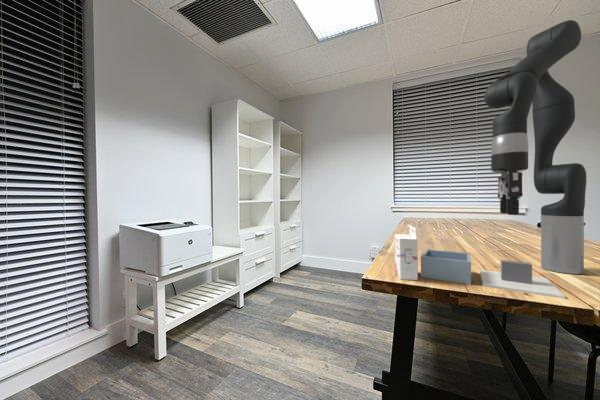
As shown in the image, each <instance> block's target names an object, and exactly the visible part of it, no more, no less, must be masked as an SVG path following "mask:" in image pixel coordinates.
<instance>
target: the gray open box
mask: <svg viewBox="0 0 600 400" xmlns="http://www.w3.org/2000/svg"><path fill="white" fill-rule="evenodd" d="M420 277H421V278H426V279H432V280H437V281H446V282H452V283H459V284H464V285H465V284H466V285H471V286H472V258H471V253H470V252H469V253H468V252H459V251H450V250H439V249H430V248H429V249H428V248H425V249H424V251H423V253H422V254H421V256H420Z"/></svg>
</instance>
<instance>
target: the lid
mask: <svg viewBox="0 0 600 400" xmlns="http://www.w3.org/2000/svg"><path fill="white" fill-rule="evenodd" d="M479 275H480V279H481V284H482V287H487V288H492V289H500V290H504V291H511V292H519V293H525V294H530V293H532V294H533V295H537V296H538V295H539V296H544V297H550V298H558V299H563V300H566V296H565V294H564V293H563V292H562V291H560V289H558V288H557V287H556V286H555V285H554V283H552V281H550V279H548V278H547V277H541V276H533V264H531V263H530V262H524V261H517V260H515V261H514V260H508V259H507V260H505V259H500V271H493V270H485V269H479ZM532 294H531V295H532Z"/></svg>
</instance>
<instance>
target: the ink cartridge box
mask: <svg viewBox="0 0 600 400" xmlns="http://www.w3.org/2000/svg"><path fill="white" fill-rule="evenodd" d="M417 234H418V233H417V228H416V227H414V226H412V225H411V224H409V234H399V233H398V234H394V270H395V272H396V274H397V277H398V278H399V280H404V281H405V280H406V281H407V280H408V281H418V279H419V276H418V275H419V272H418V271H419V270H418V269H419V268H418V266H419V265H418V264H419V263H418V256H419V255H418V235H417Z"/></svg>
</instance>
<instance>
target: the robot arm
mask: <svg viewBox="0 0 600 400" xmlns="http://www.w3.org/2000/svg"><path fill="white" fill-rule="evenodd" d="M527 41H528V42H527V44H526V56H525V57H523V58H522V59H521V60H520V61H519V62H517V64H516V65H515V66H514V67H513V68H512V69H511V70H510V71H508V72H507V73H505V74H503V75H502V76H500V77H498V78H497V79H496V80H494V81H493V82H492V83H490V85H489V86H488V87H487V88H486V90H485V92H484V96H483V97H484V98H483V99H484V103H485V104H486V106H487V107H488V108H490V109H494V110H495V109H502V108H505V107H508V106H510V107H509V108H508V110H506V111H504V112H503V113H500V114H498V115H496V116H495V117H494V118H493V121H492V134H491V135H492V136H491V137H492V138H491V139H492V140H491V147H490V152H491V156H490V161H491V162H490V166H491V167H490V170H491V172H493V173H501V175H500V176H499V177H497V199H498V200H499V213H501V214H507V215H513V216H518V215H519V214H520V200H521V197H523V195H524V194H523V171H526V170H528V169H529V139H528V117H529V113H530V110H531V106H532V111H531V112H532V123H533V124H532V126H533V134H534V137H533V138H534V164H533V184H534V187H535V190H536V192H537V193H539V194H543V195H557V194H558V195H561V194H562V195H563V194H564V195H563V197H562V198H561V199H560V200H558V201H556V202H554V203H551V204H550V203H549V204H546V205H542V206H541V208H540V267H541V268H542V269H544V270H546V271H547V270H548V271H551V272H554V273H555V272H557V273H563V274H570V275H571V274H572V275H583V274H584V273H585V243H584V242H585V217H584V216H585V207H586V191H587V171H586V168H585V167H584V165H583V164H581V163H576V162H575V163H563V164H561V163H560V164H553V160H554V155H555V151H556V149H557V148H558V145H559V144H560V143H561V141H562V140H563V138H564V137H565V136H566V135H567V133H568V132H569V131H570V129H571V128H572V126H573V124H574V122H575V119H576V110H575V97H574V96H573V94H572V93H571V92H570V91H569V90H568V89H566V88H565V86H563V85H561V84H560V83H559V82H557V81H556V80H555V79H554V78H553V77H552V76H551V74H550V72H549V69H550V68H551V67H552V66H554V65H555V64H556V63H557V62H558V61H561V60H562V59H563V58H564V57H566V56H567V55H569V54H570V53H571V52H573V51H575V50H576V49H577V48H578V47H579V45H580V43H581V41H582V30H581V27H580V25H579V23H578V22H577V21H576V20H573V19H569V20H564V21H562V22H560V23H557V24H555V25H553V26H551V27H549V28H547V29H545V30H543V31H541V32H538V33H537V34H535V35H533V36H531V37H530V38H529V39H528V40H527Z"/></svg>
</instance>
